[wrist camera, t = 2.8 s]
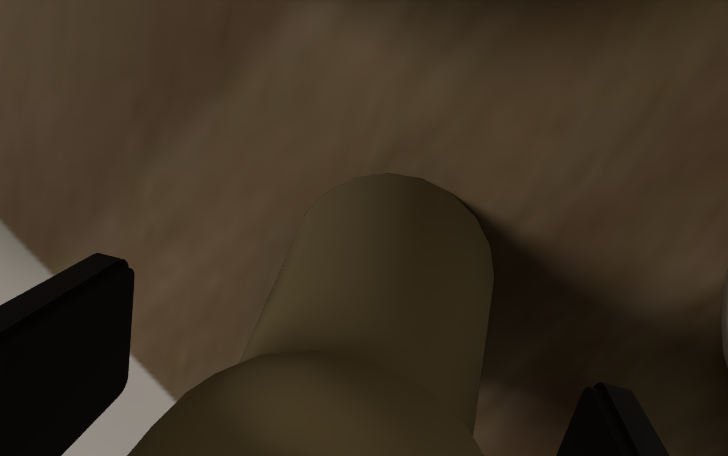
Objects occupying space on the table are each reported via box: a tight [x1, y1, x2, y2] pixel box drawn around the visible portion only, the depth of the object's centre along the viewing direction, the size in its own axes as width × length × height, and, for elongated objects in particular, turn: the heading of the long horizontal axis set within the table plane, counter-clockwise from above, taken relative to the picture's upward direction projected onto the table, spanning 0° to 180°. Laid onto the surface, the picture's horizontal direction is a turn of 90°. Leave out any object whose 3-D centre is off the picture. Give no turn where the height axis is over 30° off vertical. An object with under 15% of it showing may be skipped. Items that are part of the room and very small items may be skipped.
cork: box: [127, 173, 494, 456], centre depth 10 cm, size 6×6×11 cm
